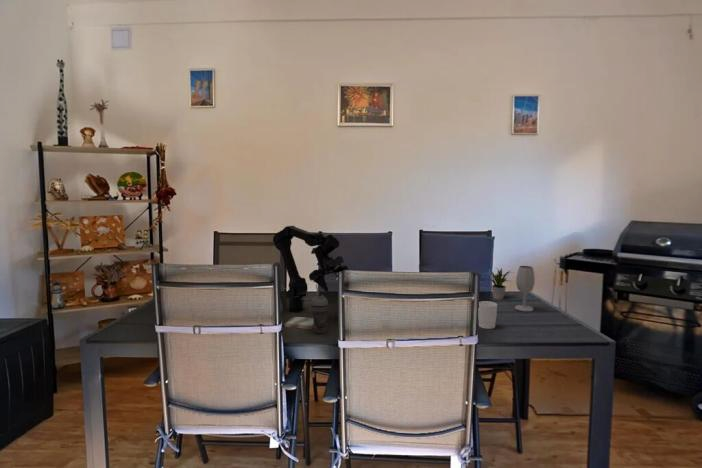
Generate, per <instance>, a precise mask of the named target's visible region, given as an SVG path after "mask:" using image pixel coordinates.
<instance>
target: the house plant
mask: <svg viewBox="0 0 702 468" xmlns="http://www.w3.org/2000/svg"><path fill="white" fill-rule="evenodd" d="M496 268H497V269H496V270H497V273H496V274H495V273H494V272H493V271H492V270H491V269H488V271H489V274H490V275H491V276H492V279H491V278H489V279H488V281H491V282H492V283H493V285H491V288H492V289H491V290H492V296H493V299H496V300H503V299H504V298H505V294H506V293H505V292H506V288H507V286H505V285H504V284H505V283H508V282H511V281H513V280H512V279H511V280H508V278H509V276H508V275H509V274H511V273H515V272H512V271H511V270H508V271H507V272H506V273H504V274H503V267H501V268H500V269H499V268H498V267H496ZM511 283H512V282H511Z"/></svg>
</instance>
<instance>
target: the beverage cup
mask: <svg viewBox="0 0 702 468" xmlns="http://www.w3.org/2000/svg"><path fill="white" fill-rule="evenodd" d="M315 288H316V295H315V296H313V298H312V299H311V303H310V306H311V307H310V308H311V310H312V311H311V313H312V318H313V322H314V327H313V328H314V333H316V334H323V333H326V329H327V316H328V315H327V314H328V309H329V303H328V302H329V301H328V299H327V297H325V295H323V294H319V289H318V284H317V283H316V284H315Z"/></svg>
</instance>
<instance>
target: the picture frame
mask: <svg viewBox="0 0 702 468" xmlns="http://www.w3.org/2000/svg"><path fill="white" fill-rule="evenodd" d="M284 327H285V328H292V329H293V328H294V329H302V330H303V329H304V330H312V329H313V328H314V322H313V317H304V316H303V317H302V316H293V317H292V318H290V319H288V321H286V322H285V323H284Z"/></svg>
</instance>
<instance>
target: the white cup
mask: <svg viewBox="0 0 702 468" xmlns="http://www.w3.org/2000/svg"><path fill="white" fill-rule="evenodd" d="M478 303H479V308H478V307H477V315H478V317H477V319H478V327H479V328H482V329H487V330H492V329H495V328H496V321H497V316H498V314H497V313H498V312H497V311H498V304H497V303H496V302H494V301H490V300H489V301H487V300H485V301H482V300H481V301H479V302H478Z"/></svg>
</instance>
